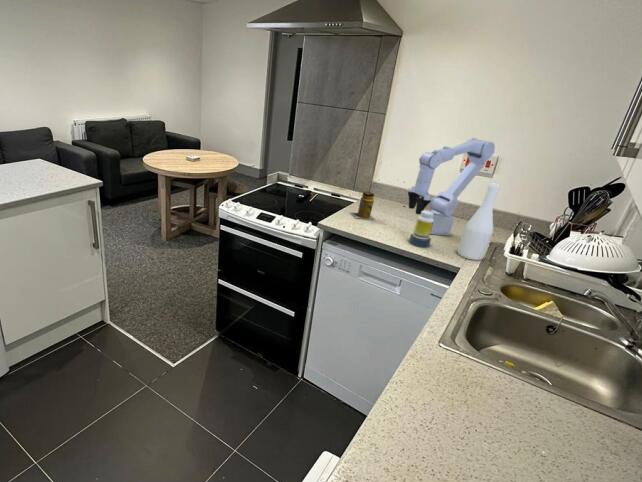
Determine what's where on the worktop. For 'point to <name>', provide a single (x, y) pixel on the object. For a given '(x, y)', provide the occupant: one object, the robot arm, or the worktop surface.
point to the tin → (419, 241)
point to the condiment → (365, 206)
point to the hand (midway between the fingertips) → (414, 211)
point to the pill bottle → (423, 225)
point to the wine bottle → (479, 228)
